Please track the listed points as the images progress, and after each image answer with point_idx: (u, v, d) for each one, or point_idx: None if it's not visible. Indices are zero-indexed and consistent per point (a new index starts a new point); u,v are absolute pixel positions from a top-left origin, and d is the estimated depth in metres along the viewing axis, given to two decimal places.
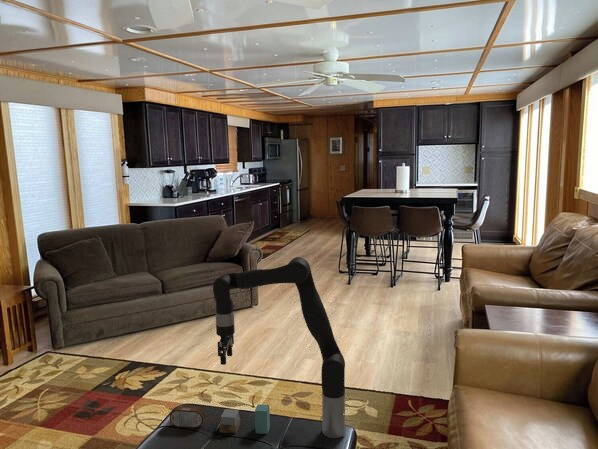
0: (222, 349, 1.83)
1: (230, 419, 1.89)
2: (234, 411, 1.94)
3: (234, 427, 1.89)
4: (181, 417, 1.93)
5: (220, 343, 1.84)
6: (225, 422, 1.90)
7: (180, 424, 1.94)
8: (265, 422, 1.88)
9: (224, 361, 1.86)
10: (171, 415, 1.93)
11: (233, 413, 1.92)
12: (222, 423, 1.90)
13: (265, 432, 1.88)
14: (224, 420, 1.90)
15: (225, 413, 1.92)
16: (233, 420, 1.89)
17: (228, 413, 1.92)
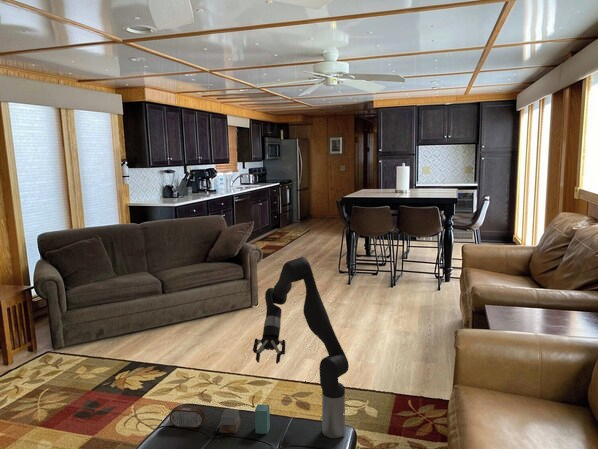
0: None
1: (230, 419, 1.89)
2: (234, 411, 1.93)
3: (234, 427, 1.89)
4: (181, 417, 1.93)
5: None
6: (225, 422, 1.90)
7: (180, 424, 1.94)
8: (265, 422, 1.88)
9: (256, 357, 2.01)
10: (171, 415, 1.93)
11: (233, 414, 1.91)
12: (222, 423, 1.90)
13: (265, 432, 1.88)
14: (224, 420, 1.90)
15: (225, 413, 1.92)
16: (233, 420, 1.89)
17: (228, 413, 1.92)
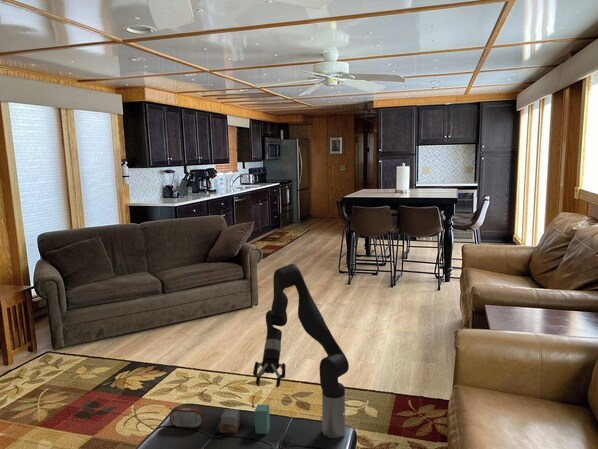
0: None
1: (230, 419, 1.89)
2: (234, 411, 1.94)
3: (234, 427, 1.89)
4: (181, 417, 1.93)
5: None
6: (225, 422, 1.90)
7: (180, 424, 1.94)
8: (265, 422, 1.88)
9: (256, 381, 2.02)
10: (171, 415, 1.93)
11: (233, 413, 1.92)
12: (222, 423, 1.90)
13: (265, 432, 1.88)
14: (224, 419, 1.90)
15: (225, 413, 1.92)
16: (233, 420, 1.89)
17: (228, 413, 1.92)
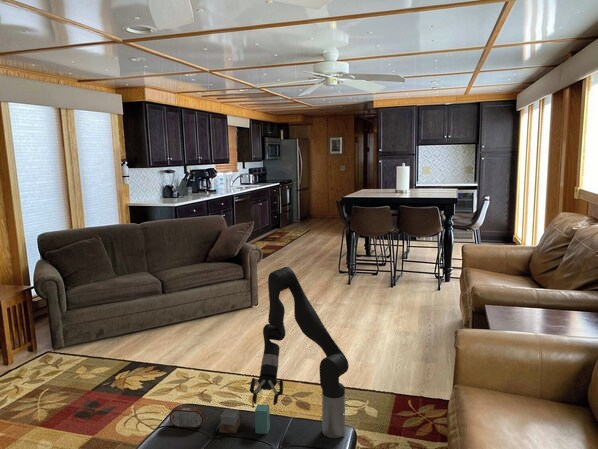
0: None
1: (230, 419, 1.89)
2: (234, 411, 1.93)
3: (234, 427, 1.89)
4: (181, 417, 1.93)
5: None
6: (225, 422, 1.90)
7: (180, 424, 1.94)
8: (265, 422, 1.88)
9: (253, 398, 1.96)
10: (171, 415, 1.93)
11: (233, 413, 1.91)
12: (222, 423, 1.90)
13: (265, 432, 1.88)
14: (223, 419, 1.90)
15: (225, 413, 1.92)
16: (233, 420, 1.89)
17: (228, 413, 1.92)
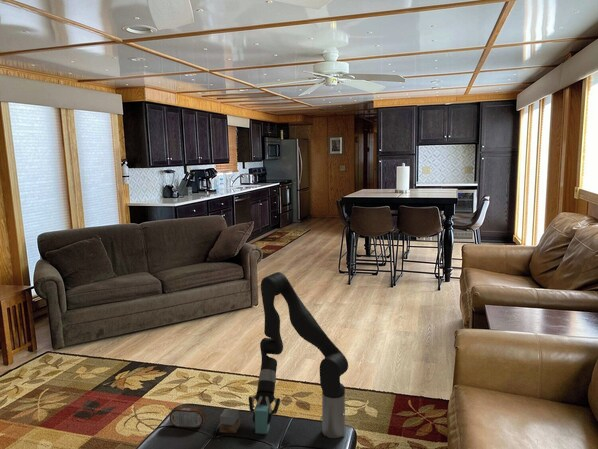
0: (249, 403, 1.93)
1: (229, 419, 1.89)
2: (234, 411, 1.94)
3: (234, 427, 1.89)
4: (181, 417, 1.93)
5: None
6: (224, 422, 1.90)
7: (180, 424, 1.94)
8: (265, 422, 1.88)
9: (253, 418, 1.90)
10: (171, 415, 1.93)
11: (232, 413, 1.92)
12: (221, 423, 1.90)
13: (265, 432, 1.88)
14: (223, 419, 1.90)
15: (224, 413, 1.92)
16: (232, 420, 1.89)
17: (227, 413, 1.92)
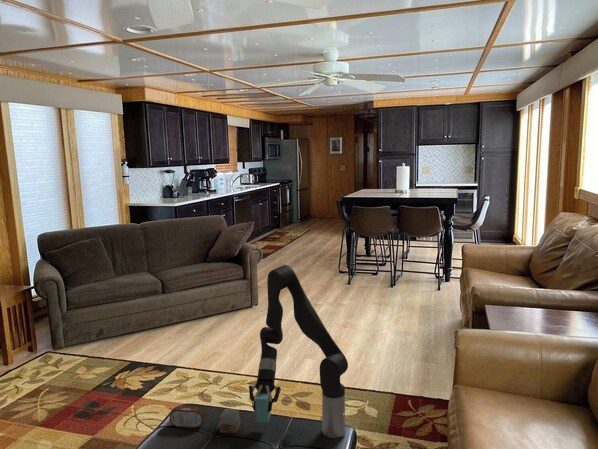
0: None
1: (229, 419, 1.89)
2: (234, 411, 1.94)
3: (234, 427, 1.89)
4: (181, 417, 1.93)
5: None
6: (225, 422, 1.90)
7: (180, 424, 1.94)
8: (265, 410, 1.87)
9: (253, 406, 1.89)
10: (171, 415, 1.93)
11: (233, 413, 1.92)
12: (222, 422, 1.90)
13: (266, 420, 1.88)
14: (223, 419, 1.90)
15: (225, 412, 1.92)
16: (232, 420, 1.89)
17: (228, 412, 1.92)
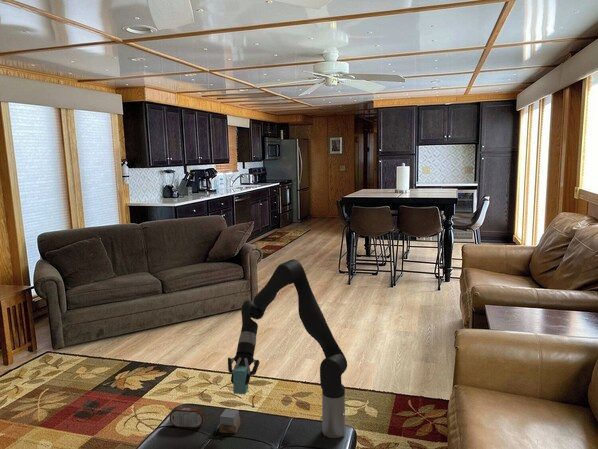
0: None
1: (229, 419, 1.89)
2: (234, 411, 1.93)
3: (234, 427, 1.89)
4: (181, 417, 1.93)
5: None
6: (224, 422, 1.90)
7: (180, 424, 1.94)
8: (243, 382, 1.87)
9: (231, 378, 1.89)
10: (171, 415, 1.93)
11: (233, 414, 1.91)
12: (221, 423, 1.90)
13: (243, 392, 1.88)
14: (223, 420, 1.90)
15: (224, 413, 1.92)
16: (232, 420, 1.89)
17: (227, 413, 1.92)
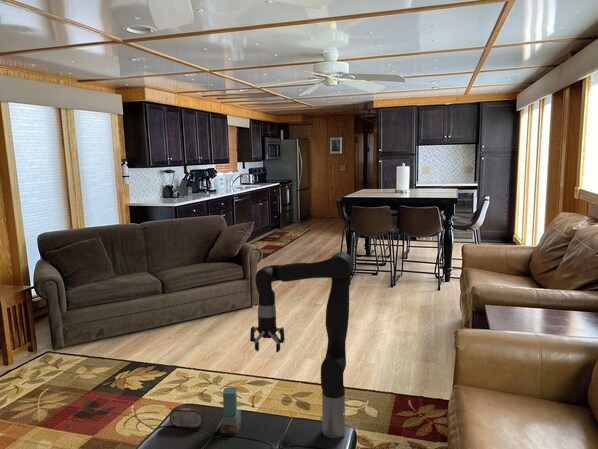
0: None
1: (232, 419, 1.89)
2: None
3: (235, 427, 1.89)
4: (181, 417, 1.93)
5: (251, 328, 1.92)
6: (227, 422, 1.89)
7: (180, 424, 1.94)
8: (233, 404, 1.89)
9: (255, 347, 1.92)
10: (171, 415, 1.93)
11: None
12: (224, 423, 1.90)
13: (234, 414, 1.90)
14: (225, 420, 1.89)
15: None
16: (235, 420, 1.89)
17: None
